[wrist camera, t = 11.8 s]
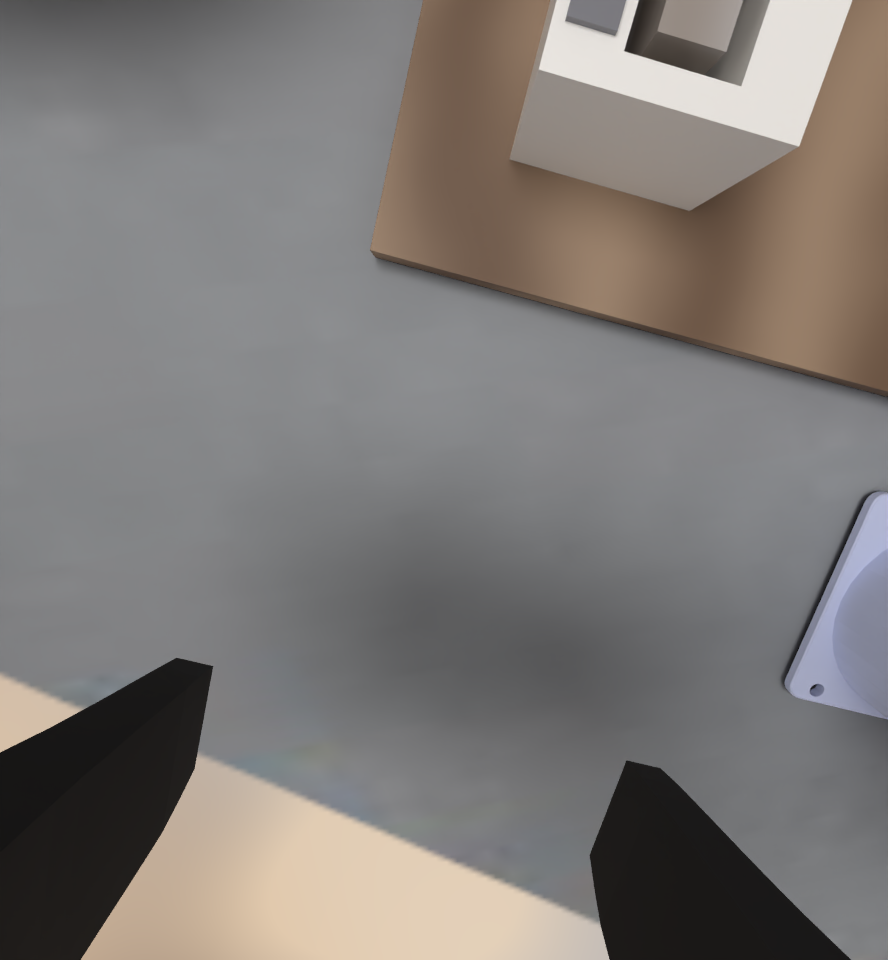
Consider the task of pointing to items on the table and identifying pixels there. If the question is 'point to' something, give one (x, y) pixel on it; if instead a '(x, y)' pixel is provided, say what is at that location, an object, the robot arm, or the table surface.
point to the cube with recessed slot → (673, 99)
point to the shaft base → (646, 223)
